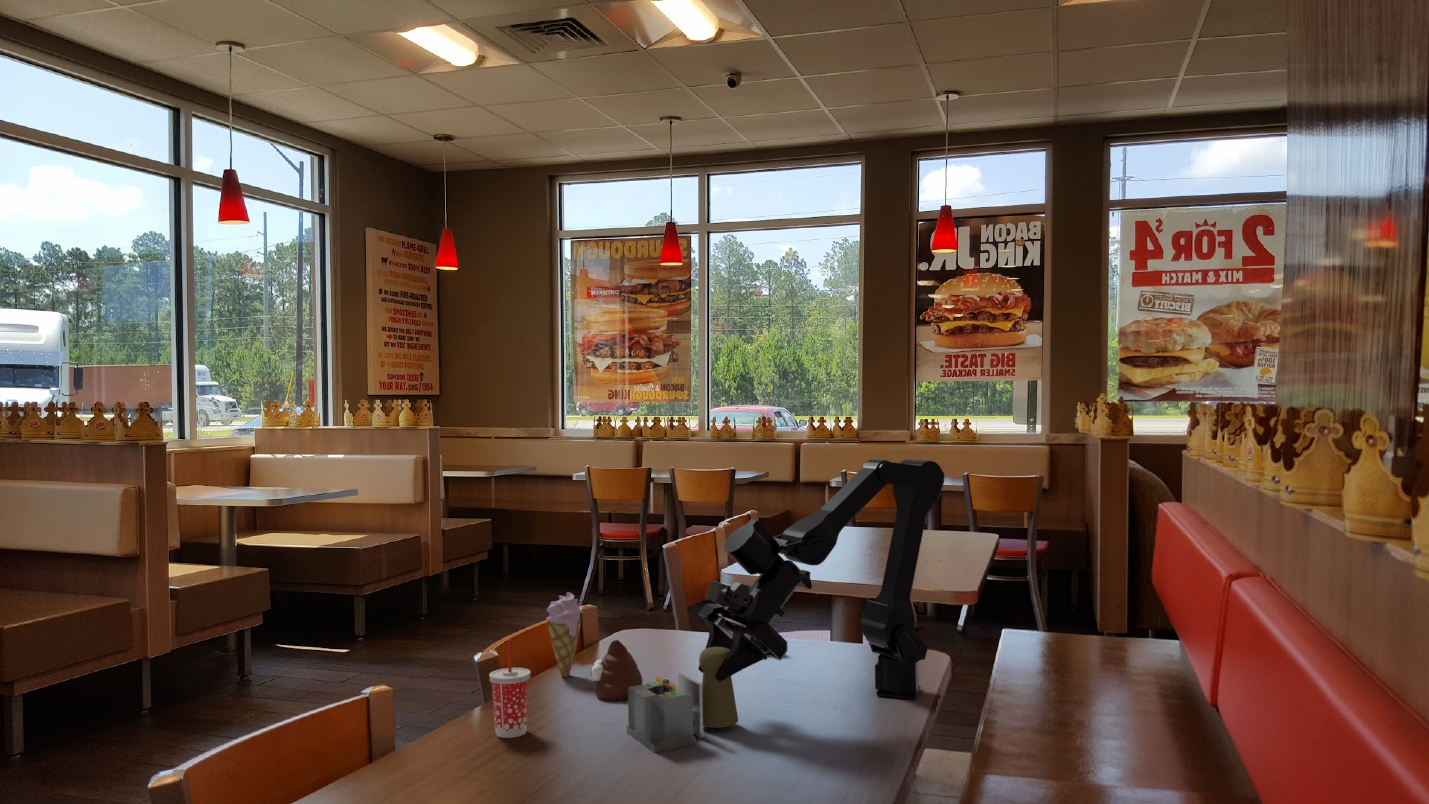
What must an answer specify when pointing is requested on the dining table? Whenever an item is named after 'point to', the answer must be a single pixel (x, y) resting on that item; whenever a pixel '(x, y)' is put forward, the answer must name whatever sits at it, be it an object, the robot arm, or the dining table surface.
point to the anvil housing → (660, 717)
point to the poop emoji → (615, 673)
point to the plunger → (697, 699)
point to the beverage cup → (510, 699)
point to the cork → (716, 690)
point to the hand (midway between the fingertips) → (708, 675)
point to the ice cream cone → (564, 630)
